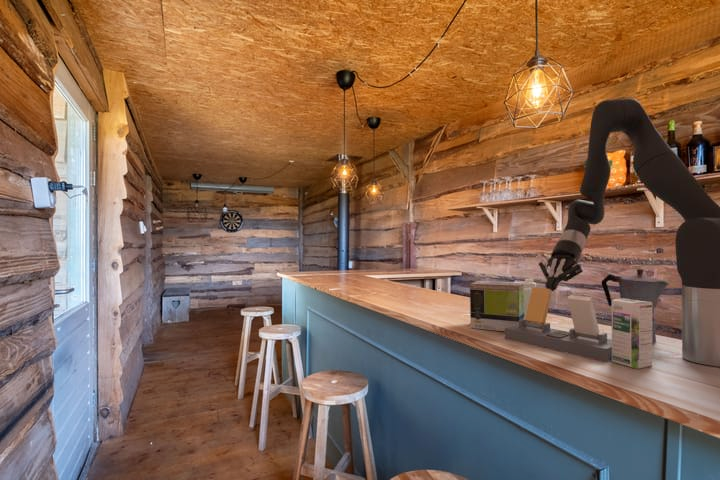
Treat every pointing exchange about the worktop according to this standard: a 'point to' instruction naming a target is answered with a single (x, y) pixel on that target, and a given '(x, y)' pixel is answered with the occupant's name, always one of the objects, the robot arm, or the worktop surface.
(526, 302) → the strainer
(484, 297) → the tea box
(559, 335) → the toggle switch base
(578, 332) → the toggle
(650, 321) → the syrup box
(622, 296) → the moka pot
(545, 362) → the worktop surface
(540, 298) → the toggle
